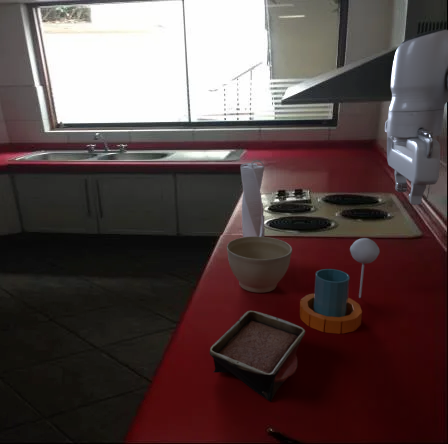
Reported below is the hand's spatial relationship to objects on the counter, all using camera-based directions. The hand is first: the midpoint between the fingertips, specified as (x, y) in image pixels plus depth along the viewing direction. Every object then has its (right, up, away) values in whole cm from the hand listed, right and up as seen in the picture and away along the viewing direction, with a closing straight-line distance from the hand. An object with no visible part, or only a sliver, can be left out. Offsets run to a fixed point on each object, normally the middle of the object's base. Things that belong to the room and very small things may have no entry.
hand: (407, 197), depth 82 cm
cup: (-11, -26, +11) cm, 30 cm away
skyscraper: (-18, -12, +56) cm, 61 cm away
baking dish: (-31, -33, -5) cm, 45 cm away
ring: (-11, -26, +10) cm, 30 cm away
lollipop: (-1, -23, +18) cm, 30 cm away
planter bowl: (-23, -22, +27) cm, 42 cm away
